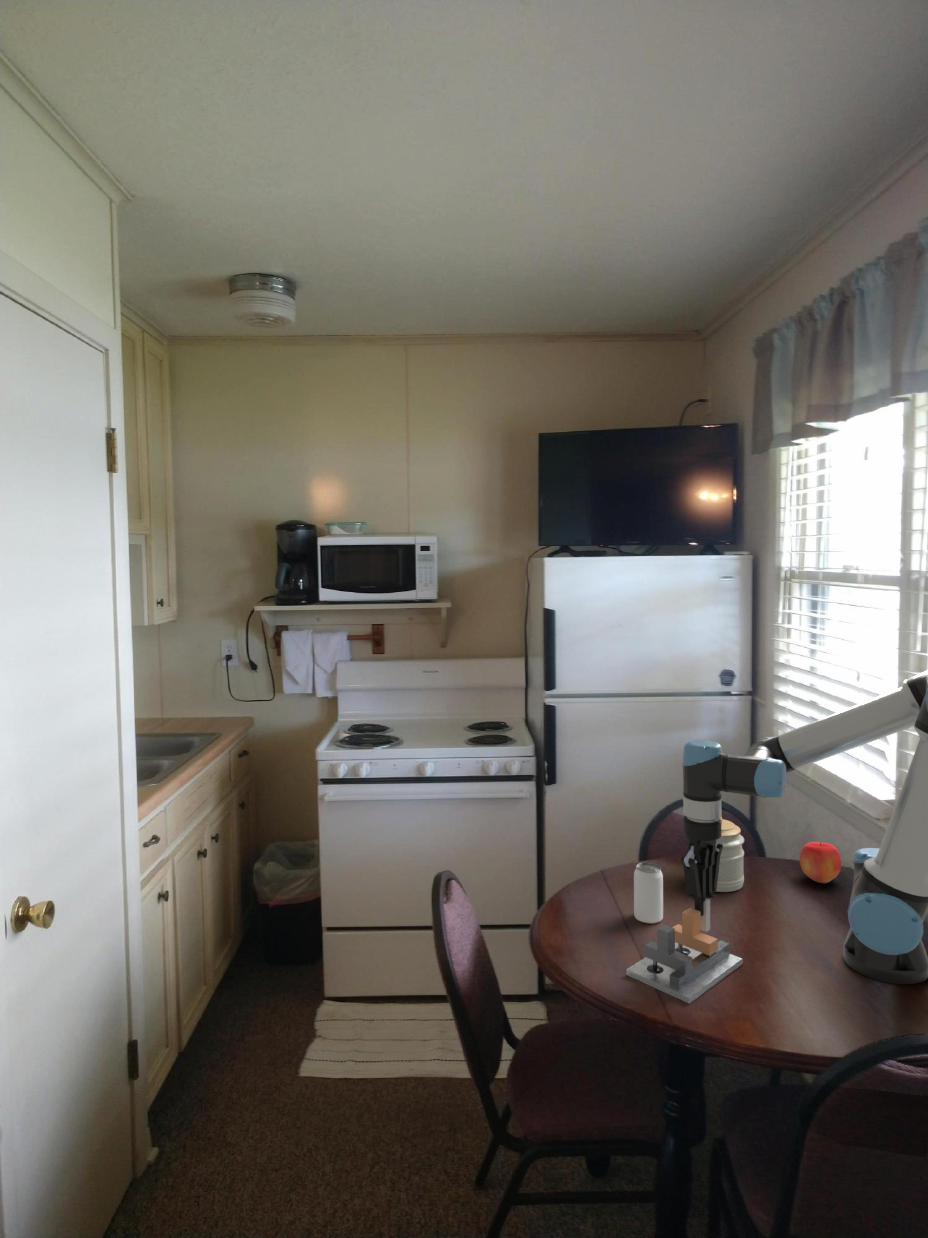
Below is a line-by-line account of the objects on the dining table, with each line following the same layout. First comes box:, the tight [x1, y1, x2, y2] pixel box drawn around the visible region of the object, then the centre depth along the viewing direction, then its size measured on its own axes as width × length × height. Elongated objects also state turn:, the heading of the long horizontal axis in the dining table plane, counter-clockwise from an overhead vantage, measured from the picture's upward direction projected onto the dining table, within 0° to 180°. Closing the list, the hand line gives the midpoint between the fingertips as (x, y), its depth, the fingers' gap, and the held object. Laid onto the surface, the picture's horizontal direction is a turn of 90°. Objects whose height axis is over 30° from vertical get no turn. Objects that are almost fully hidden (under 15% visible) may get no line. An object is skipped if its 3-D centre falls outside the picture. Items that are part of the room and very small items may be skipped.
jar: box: [715, 816, 745, 893], centre depth 194 cm, size 13×13×18 cm
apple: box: [799, 841, 842, 884], centre depth 193 cm, size 10×10×10 cm
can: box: [633, 862, 664, 925], centre depth 175 cm, size 6×6×12 cm
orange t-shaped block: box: [671, 907, 719, 956], centre depth 154 cm, size 9×3×9 cm, turn 42°
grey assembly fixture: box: [625, 924, 743, 1004], centre depth 152 cm, size 14×20×10 cm
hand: (702, 928), depth 157 cm, fingers closed
